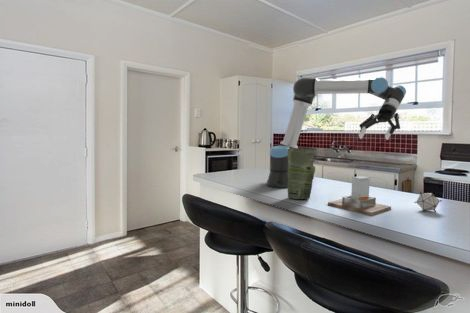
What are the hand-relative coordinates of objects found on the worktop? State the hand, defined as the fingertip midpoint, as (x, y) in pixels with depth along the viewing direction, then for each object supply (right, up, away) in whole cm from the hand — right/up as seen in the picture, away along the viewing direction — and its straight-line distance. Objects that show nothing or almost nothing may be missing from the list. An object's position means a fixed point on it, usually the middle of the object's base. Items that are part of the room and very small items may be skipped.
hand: (372, 137), depth 146 cm
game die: (+11, -32, -25) cm, 42 cm away
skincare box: (-15, -31, -20) cm, 39 cm away
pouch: (-37, -30, -4) cm, 48 cm away
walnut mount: (-15, -32, -20) cm, 40 cm away
